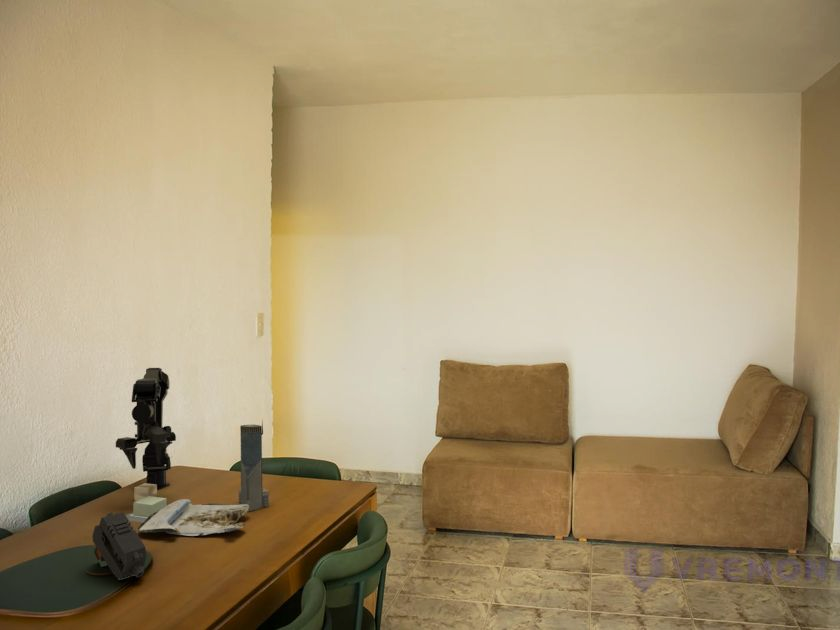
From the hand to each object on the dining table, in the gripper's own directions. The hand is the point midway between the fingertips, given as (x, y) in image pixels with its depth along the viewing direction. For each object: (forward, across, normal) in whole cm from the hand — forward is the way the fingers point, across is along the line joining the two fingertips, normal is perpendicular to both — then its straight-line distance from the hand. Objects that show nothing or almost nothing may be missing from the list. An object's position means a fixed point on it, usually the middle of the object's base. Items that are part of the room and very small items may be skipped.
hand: (146, 466), depth 228 cm
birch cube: (+13, +4, +6) cm, 15 cm away
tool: (+17, -34, -40) cm, 56 cm away
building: (+14, +19, -28) cm, 37 cm away
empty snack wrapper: (+15, -2, -30) cm, 33 cm away
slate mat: (+14, -4, -7) cm, 16 cm away
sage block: (+13, -4, -7) cm, 16 cm away
